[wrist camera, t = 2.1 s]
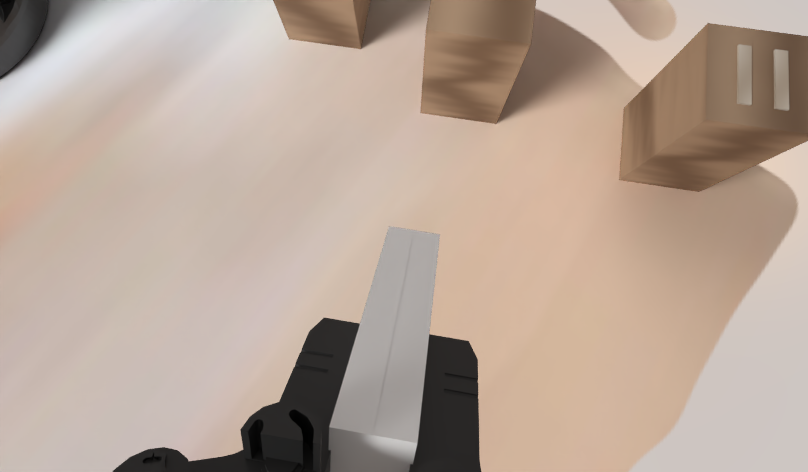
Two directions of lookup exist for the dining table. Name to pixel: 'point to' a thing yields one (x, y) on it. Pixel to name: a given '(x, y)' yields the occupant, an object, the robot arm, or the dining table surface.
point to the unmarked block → (474, 56)
